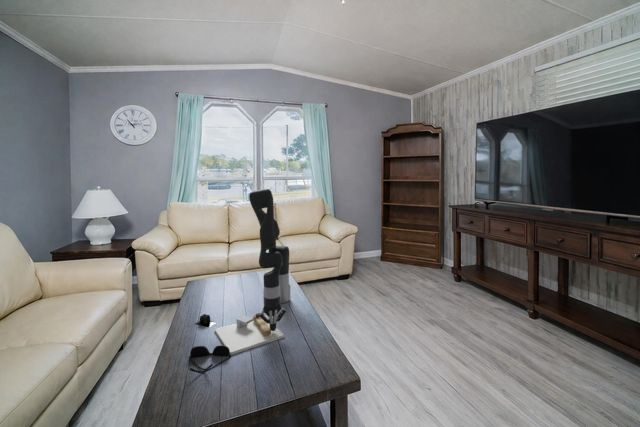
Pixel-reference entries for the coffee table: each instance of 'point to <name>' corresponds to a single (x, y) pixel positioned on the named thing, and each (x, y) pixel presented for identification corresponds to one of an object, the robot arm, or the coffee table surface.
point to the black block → (205, 321)
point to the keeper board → (245, 335)
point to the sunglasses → (203, 351)
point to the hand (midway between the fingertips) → (272, 330)
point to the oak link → (262, 324)
